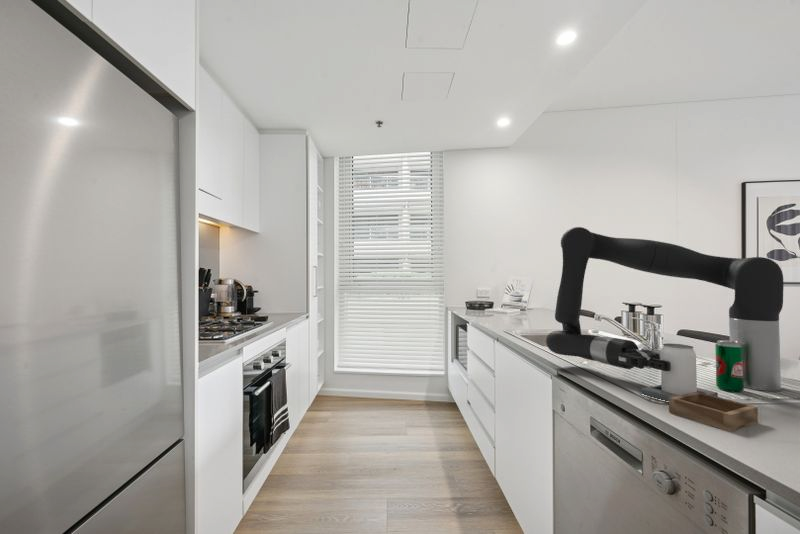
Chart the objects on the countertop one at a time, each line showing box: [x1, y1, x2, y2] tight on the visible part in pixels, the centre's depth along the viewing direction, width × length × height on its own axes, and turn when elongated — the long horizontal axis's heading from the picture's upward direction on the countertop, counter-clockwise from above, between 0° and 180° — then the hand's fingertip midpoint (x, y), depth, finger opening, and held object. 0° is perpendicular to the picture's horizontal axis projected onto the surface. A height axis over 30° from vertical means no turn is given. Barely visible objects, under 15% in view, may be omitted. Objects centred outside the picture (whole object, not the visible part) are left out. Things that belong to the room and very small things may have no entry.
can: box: [660, 342, 698, 395], centre depth 82 cm, size 6×6×12 cm
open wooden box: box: [668, 392, 759, 432], centre depth 70 cm, size 10×10×3 cm
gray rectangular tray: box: [640, 384, 719, 401], centre depth 82 cm, size 13×9×2 cm
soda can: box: [714, 339, 745, 393], centre depth 89 cm, size 5×5×12 cm
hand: (680, 364), depth 82 cm, fingers open, 8 cm apart
